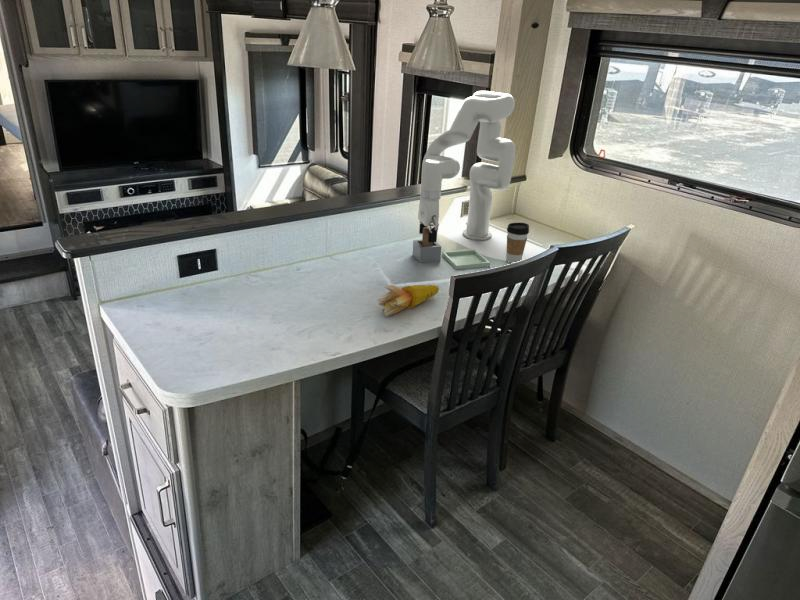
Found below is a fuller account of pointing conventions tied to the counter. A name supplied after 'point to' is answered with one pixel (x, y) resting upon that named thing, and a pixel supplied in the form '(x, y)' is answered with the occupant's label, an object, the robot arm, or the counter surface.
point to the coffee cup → (516, 241)
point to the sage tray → (465, 259)
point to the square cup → (426, 252)
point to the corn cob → (405, 297)
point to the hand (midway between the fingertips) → (427, 237)
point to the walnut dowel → (426, 237)
